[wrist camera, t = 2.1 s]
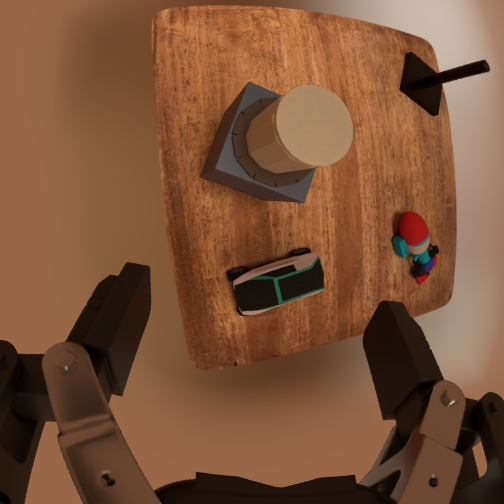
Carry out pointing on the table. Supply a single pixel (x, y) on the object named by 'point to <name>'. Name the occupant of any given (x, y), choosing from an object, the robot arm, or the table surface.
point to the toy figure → (416, 244)
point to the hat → (292, 135)
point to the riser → (225, 164)
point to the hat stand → (433, 80)
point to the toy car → (277, 282)
